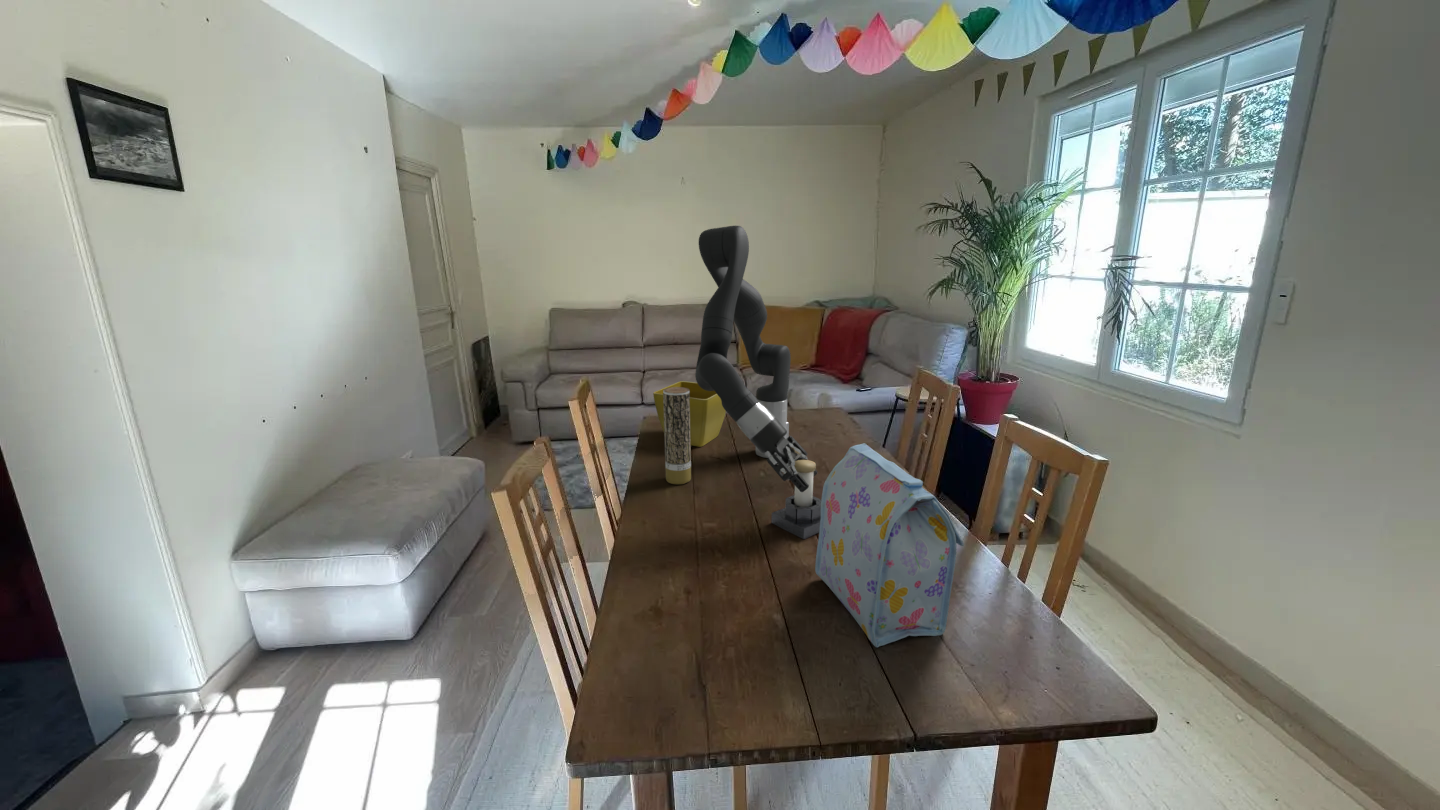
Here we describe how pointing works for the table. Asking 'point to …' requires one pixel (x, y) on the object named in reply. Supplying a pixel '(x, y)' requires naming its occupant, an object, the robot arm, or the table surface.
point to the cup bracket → (799, 518)
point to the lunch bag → (886, 548)
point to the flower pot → (697, 412)
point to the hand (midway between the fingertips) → (810, 482)
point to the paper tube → (677, 435)
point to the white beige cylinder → (806, 472)
